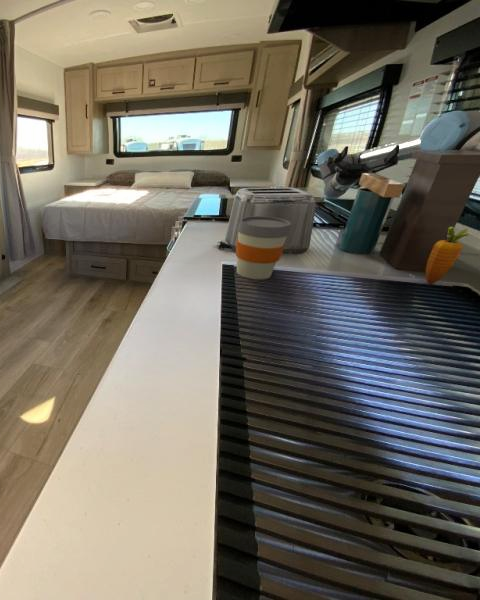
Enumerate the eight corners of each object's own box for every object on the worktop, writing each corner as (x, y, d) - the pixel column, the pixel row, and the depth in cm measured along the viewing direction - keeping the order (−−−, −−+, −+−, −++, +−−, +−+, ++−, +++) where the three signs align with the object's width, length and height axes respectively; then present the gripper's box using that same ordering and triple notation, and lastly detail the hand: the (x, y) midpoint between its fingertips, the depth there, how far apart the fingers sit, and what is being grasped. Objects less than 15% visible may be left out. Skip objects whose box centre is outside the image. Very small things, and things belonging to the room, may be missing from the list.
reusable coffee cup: (272, 266, 99) (284, 216, 92) (283, 283, 88) (298, 228, 81) (227, 264, 102) (236, 215, 95) (232, 280, 91) (242, 226, 85)
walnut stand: (374, 252, 106) (413, 150, 93) (414, 255, 103) (461, 149, 89) (392, 270, 93) (441, 154, 80) (439, 274, 90) (499, 154, 76)
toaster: (317, 256, 105) (336, 194, 96) (220, 254, 110) (229, 195, 101) (295, 240, 120) (310, 185, 111) (210, 239, 124) (218, 187, 116)
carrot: (440, 282, 85) (469, 225, 78) (445, 290, 82) (476, 230, 75) (414, 279, 88) (440, 223, 81) (418, 286, 84) (446, 228, 77)
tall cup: (373, 248, 109) (395, 189, 101) (372, 256, 103) (397, 193, 94) (339, 244, 114) (358, 187, 106) (337, 251, 108) (357, 191, 100)
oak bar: (358, 184, 110) (362, 173, 109) (371, 184, 109) (375, 173, 108) (383, 197, 91) (388, 183, 89) (399, 197, 90) (404, 184, 88)
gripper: (385, 186, 124) (418, 160, 104) (307, 185, 133) (324, 161, 114) (388, 167, 124) (422, 137, 104) (310, 167, 133) (328, 139, 114)
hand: (371, 149), depth 109 cm, fingers open, 13 cm apart
